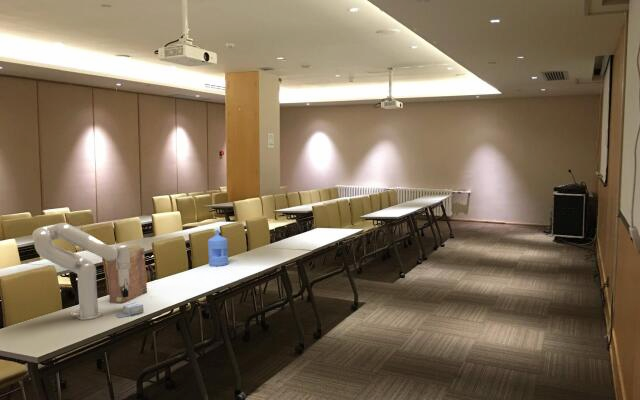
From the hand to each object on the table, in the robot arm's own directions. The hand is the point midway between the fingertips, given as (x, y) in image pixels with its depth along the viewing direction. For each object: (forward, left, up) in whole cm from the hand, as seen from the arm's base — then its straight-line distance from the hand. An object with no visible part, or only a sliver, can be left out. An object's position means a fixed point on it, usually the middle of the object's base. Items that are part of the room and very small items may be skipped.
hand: (125, 296), depth 304 cm
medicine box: (+1, -6, -5) cm, 8 cm away
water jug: (+89, +86, -8) cm, 124 cm away
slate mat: (-1, -11, -8) cm, 13 cm away
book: (+7, +27, -8) cm, 29 cm away
